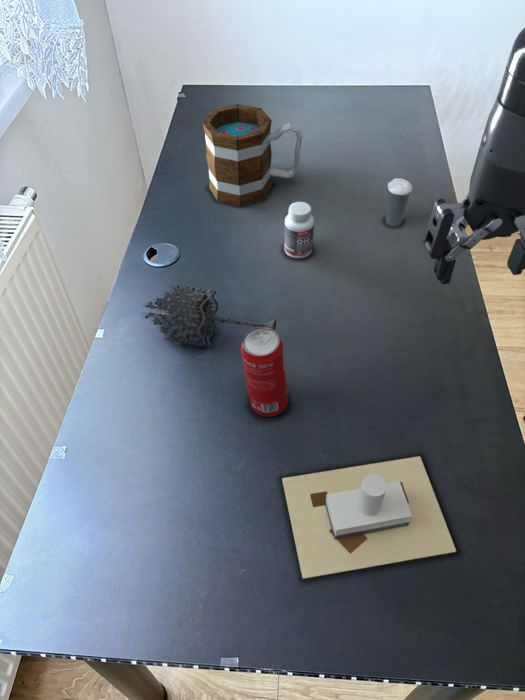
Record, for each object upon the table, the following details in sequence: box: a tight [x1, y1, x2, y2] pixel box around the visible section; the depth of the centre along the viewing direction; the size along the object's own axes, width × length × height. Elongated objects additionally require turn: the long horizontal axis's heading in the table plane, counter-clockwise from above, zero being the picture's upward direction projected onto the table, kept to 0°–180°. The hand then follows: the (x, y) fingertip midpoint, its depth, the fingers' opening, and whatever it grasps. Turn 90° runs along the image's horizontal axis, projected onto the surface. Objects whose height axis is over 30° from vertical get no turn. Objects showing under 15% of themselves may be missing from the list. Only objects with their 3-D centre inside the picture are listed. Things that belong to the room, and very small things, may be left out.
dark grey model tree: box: [140, 284, 277, 347], centre depth 97 cm, size 9×22×9 cm, turn 79°
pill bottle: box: [283, 201, 315, 259], centre depth 110 cm, size 5×5×10 cm
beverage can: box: [240, 326, 289, 417], centre depth 86 cm, size 6×6×15 cm
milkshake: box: [384, 177, 413, 227], centre depth 115 cm, size 4×5×10 cm
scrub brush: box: [325, 474, 412, 539], centre depth 76 cm, size 10×5×8 cm, turn 100°
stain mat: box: [281, 455, 457, 580], centre depth 80 cm, size 20×14×1 cm
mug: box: [201, 103, 303, 207], centre depth 122 cm, size 20×14×15 cm
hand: (478, 274), depth 68 cm, fingers open, 8 cm apart
